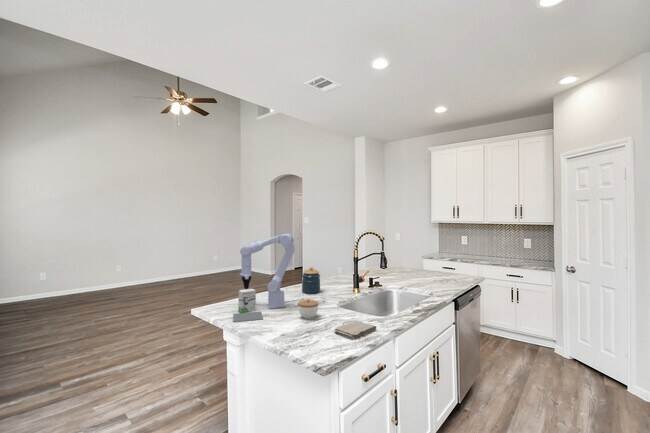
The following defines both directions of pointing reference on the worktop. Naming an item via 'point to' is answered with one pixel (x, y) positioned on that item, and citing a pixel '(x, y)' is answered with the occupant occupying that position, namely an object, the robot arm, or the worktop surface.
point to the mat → (247, 316)
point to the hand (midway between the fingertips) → (246, 288)
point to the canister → (311, 281)
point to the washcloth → (355, 330)
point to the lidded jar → (308, 308)
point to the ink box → (247, 300)
